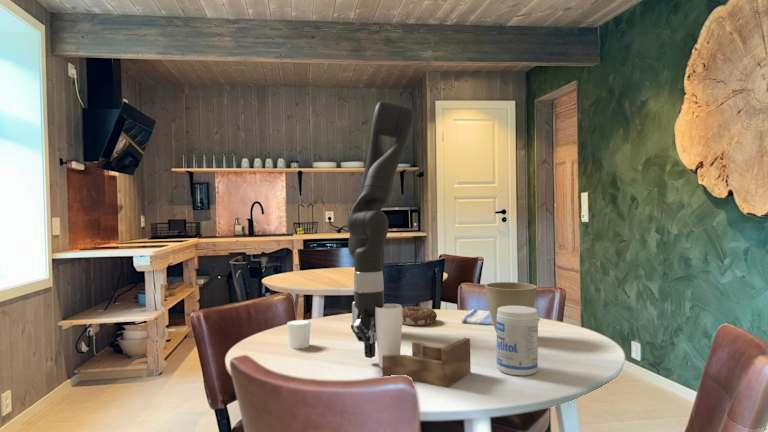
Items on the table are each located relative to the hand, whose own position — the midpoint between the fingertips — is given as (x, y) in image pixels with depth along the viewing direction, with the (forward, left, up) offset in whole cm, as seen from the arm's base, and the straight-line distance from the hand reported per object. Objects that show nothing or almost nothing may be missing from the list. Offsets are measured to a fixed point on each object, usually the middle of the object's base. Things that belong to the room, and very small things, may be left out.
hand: (370, 356), depth 125 cm
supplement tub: (+34, +13, -2) cm, 36 cm away
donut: (-13, +47, -2) cm, 49 cm away
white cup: (-27, +3, -2) cm, 28 cm away
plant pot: (+23, +41, -2) cm, 47 cm away
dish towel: (+11, +63, -2) cm, 64 cm away
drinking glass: (+6, 0, -2) cm, 6 cm away
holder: (+17, 0, -2) cm, 17 cm away
